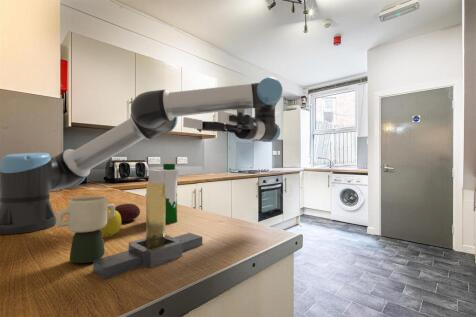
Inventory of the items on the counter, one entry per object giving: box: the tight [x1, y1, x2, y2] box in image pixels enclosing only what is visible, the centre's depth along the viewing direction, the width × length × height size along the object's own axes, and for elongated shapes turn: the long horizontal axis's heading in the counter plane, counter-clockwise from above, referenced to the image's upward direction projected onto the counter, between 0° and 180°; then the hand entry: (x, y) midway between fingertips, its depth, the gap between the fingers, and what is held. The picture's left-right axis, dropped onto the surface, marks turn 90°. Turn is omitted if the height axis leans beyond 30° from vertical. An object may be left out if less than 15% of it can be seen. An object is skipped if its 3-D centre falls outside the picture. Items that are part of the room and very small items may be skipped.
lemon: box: [99, 208, 122, 238], centre depth 65 cm, size 6×6×8 cm
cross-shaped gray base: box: [92, 232, 203, 280], centre depth 52 cm, size 9×23×3 cm, turn 140°
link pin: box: [145, 182, 166, 249], centre depth 52 cm, size 4×4×16 cm
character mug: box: [55, 195, 116, 264], centre depth 50 cm, size 11×7×13 cm, turn 140°
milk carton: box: [148, 163, 180, 225], centre depth 82 cm, size 9×9×20 cm
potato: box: [115, 203, 141, 223], centre depth 82 cm, size 7×10×6 cm
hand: (200, 119), depth 62 cm, fingers open, 13 cm apart
